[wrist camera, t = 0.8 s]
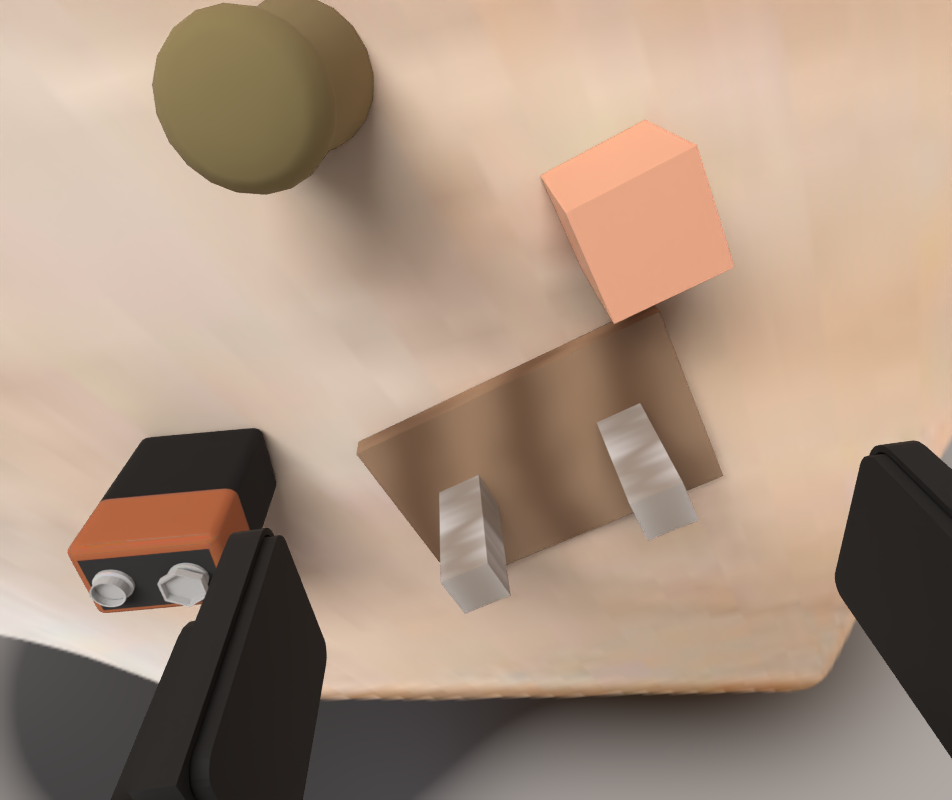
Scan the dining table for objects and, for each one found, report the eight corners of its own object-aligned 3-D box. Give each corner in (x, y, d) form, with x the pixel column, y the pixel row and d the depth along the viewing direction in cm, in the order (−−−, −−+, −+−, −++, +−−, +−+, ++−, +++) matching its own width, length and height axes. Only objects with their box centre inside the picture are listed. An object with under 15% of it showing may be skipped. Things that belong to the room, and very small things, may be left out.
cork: (382, 148, 29) (359, 212, 19) (248, 158, 29) (158, 228, 19) (362, -11, 26) (322, -27, 16) (211, -1, 26) (82, -10, 16)
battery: (279, 484, 38) (235, 619, 30) (165, 495, 38) (88, 634, 30) (262, 423, 36) (209, 551, 27) (140, 434, 36) (49, 566, 27)
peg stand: (652, 302, 33) (710, 378, 26) (715, 463, 39) (777, 561, 32) (358, 441, 37) (341, 542, 30) (456, 571, 43) (461, 680, 36)
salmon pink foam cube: (645, 119, 29) (696, 145, 23) (679, 221, 31) (734, 267, 26) (540, 175, 30) (565, 213, 24) (582, 270, 32) (613, 324, 27)
